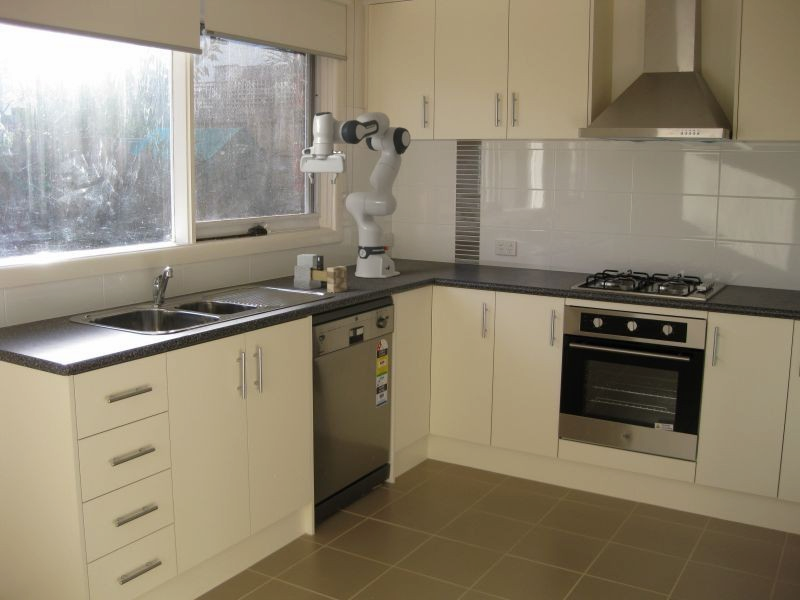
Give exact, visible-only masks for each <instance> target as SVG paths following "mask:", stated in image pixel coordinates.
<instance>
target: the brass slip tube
mask: <svg viewBox="0 0 800 600" xmlns="http://www.w3.org/2000/svg"><path fill="white" fill-rule="evenodd" d="M324 257H325V256H324V255H322V254H321V255H318V256H317V269H311V279H312V280H320V281H321V282H327V269H325V267H324V265H325V264H324V263H325V261H324V260H325V259H324Z"/></svg>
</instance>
